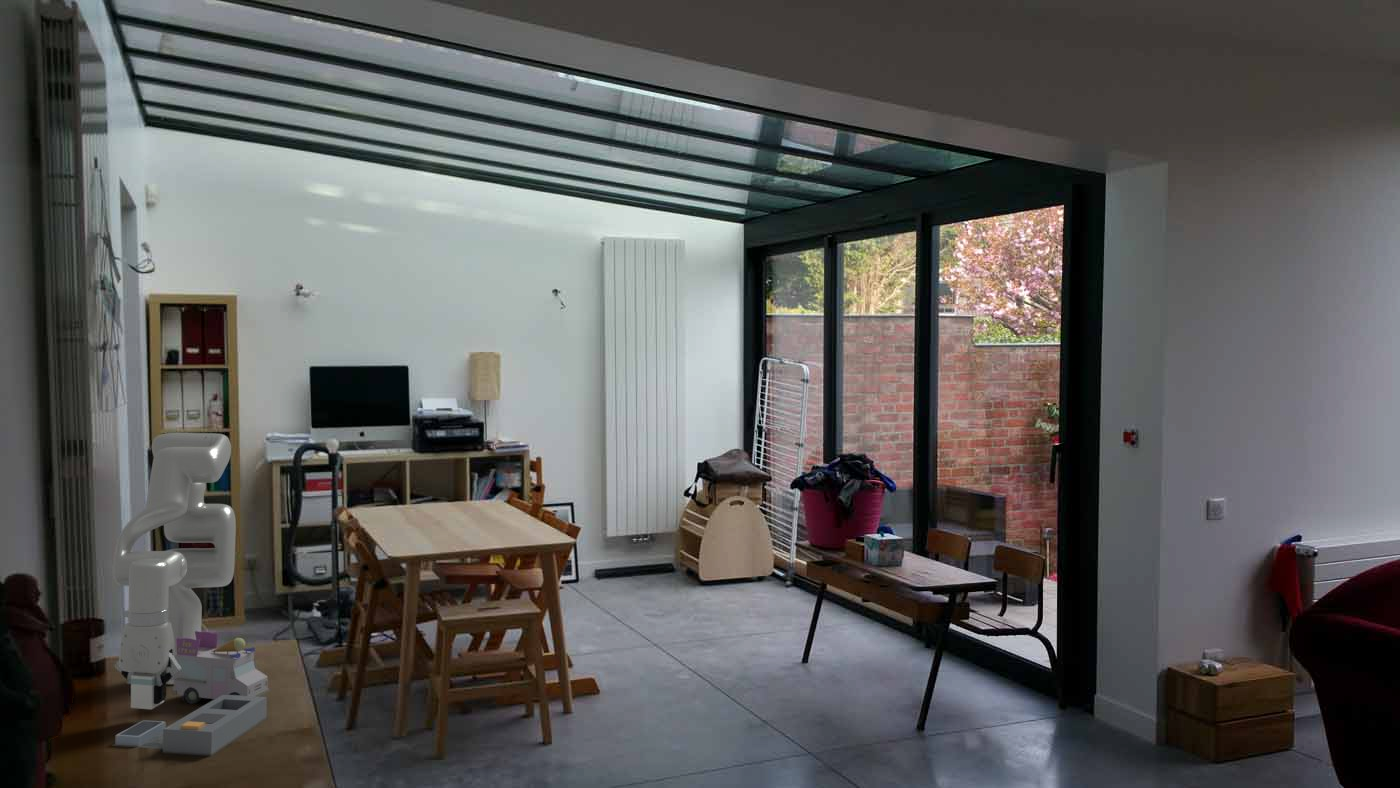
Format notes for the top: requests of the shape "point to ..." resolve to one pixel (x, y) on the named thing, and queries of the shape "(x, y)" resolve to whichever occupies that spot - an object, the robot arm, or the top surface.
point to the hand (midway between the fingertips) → (147, 700)
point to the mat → (150, 743)
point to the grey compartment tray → (214, 725)
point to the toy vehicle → (216, 669)
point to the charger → (143, 691)
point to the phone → (140, 733)
